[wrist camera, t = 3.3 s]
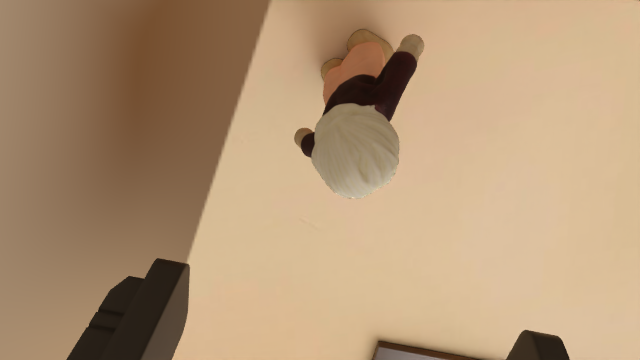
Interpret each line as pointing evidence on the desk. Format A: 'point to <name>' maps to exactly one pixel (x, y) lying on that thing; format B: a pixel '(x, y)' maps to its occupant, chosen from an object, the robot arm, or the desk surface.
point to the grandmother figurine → (360, 114)
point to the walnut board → (410, 353)
